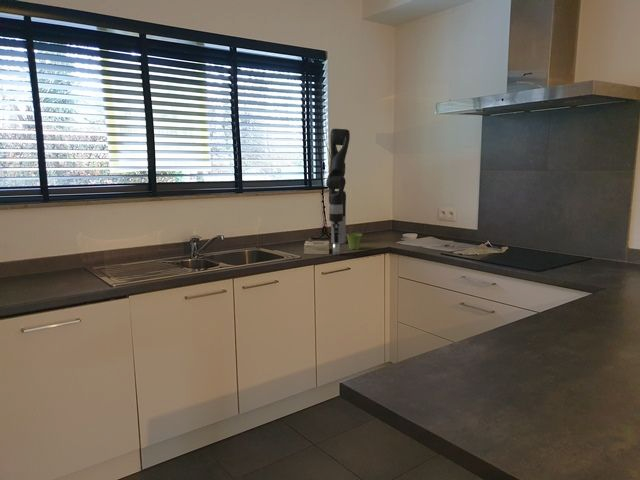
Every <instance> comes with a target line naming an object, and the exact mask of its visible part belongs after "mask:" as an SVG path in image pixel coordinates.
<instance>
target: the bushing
mask: <svg viewBox="0 0 640 480" xmlns="http://www.w3.org/2000/svg"><path fill="white" fill-rule="evenodd" d="M340 246H341V244H338V243H335V244H334V243H332V256H340V253H341V250H340V249H341V247H340Z"/></svg>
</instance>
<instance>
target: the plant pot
mask: <svg viewBox="0 0 640 480" xmlns="http://www.w3.org/2000/svg"><path fill="white" fill-rule="evenodd" d="M362 236H363V234H362V233H346V237H347V241H348V249H349V250H351V249H353V250H355V249H356V250H355V251H357V250H360V249H361V248H360V247H361V241H362V239H361V238H362Z"/></svg>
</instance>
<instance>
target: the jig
mask: <svg viewBox="0 0 640 480" xmlns="http://www.w3.org/2000/svg"><path fill="white" fill-rule="evenodd" d="M303 255H330V240H313V238H312V237H308V240H305V242H304V245H303Z"/></svg>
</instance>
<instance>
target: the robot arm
mask: <svg viewBox="0 0 640 480" xmlns="http://www.w3.org/2000/svg"><path fill="white" fill-rule="evenodd" d="M350 134H351V133H350V130H349V129H346V128H344V129H343V128H331V131H330V136H329V137H330V140H329V141H330V163H329V173H328V175H327V177H326V181H325V185H326V187H327V189H329V192H328V204H329V213H328V215H329V216H328V218H329V219H328V221H330V228H331V229H330V231H331V232H330V233H331V236H330V237H331V238H330V239H331V242H330V243H331V244H335V243H338V244H340V245H341V244H346V241H347V240H346V237H347V236H346V235H347V231H346V230H347V229H346V227H347V226H346V221H347V218H346V217H347V216H346V205H347V204H346V203H347V193H346V191H345V186H346V178H345V175H346V162H345V161H346V156H347V154H348V153H347V152H348V148H349V146H350V144H349V143H350V137H351V135H350ZM337 146H342V147H341V148H340V150H338V148H337Z"/></svg>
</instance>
